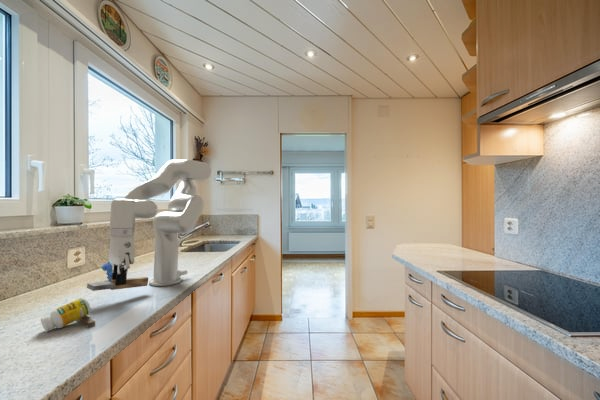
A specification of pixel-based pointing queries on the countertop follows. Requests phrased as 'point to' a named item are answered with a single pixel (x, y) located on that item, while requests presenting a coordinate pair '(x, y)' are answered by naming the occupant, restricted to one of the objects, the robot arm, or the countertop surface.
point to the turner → (111, 285)
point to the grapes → (108, 270)
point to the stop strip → (87, 321)
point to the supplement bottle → (66, 314)
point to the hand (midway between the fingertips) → (118, 283)
